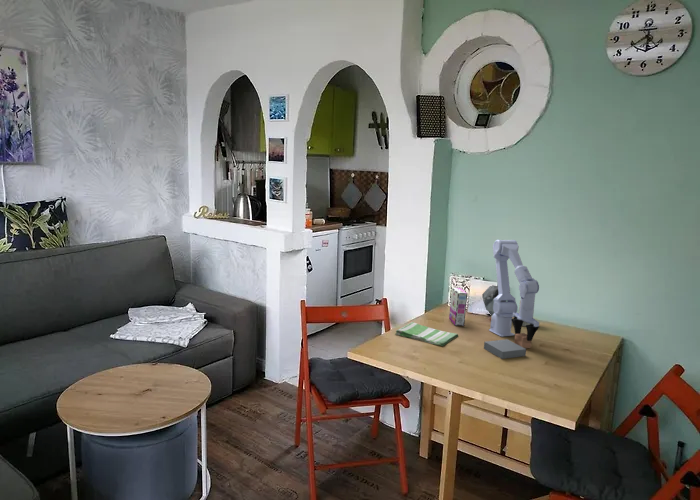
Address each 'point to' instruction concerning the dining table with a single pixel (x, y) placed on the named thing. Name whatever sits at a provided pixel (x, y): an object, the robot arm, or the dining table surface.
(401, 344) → the dining table surface
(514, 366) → the dining table surface
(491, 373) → the dining table surface
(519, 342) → the terracotta cube
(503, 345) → the slate block
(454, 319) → the candy bar box
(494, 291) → the gray rock
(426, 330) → the dish towel
